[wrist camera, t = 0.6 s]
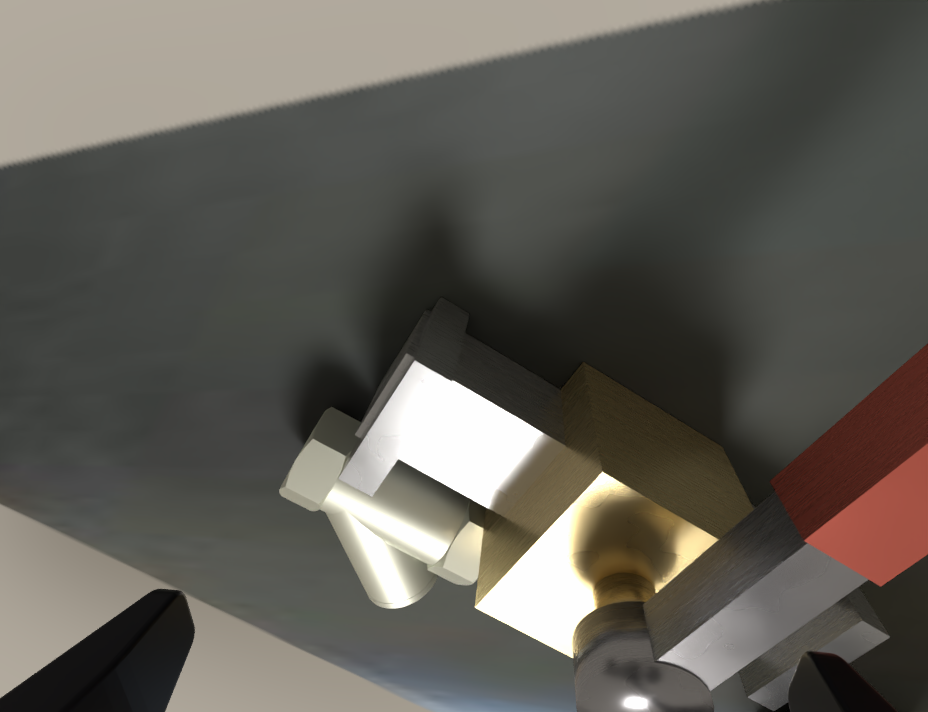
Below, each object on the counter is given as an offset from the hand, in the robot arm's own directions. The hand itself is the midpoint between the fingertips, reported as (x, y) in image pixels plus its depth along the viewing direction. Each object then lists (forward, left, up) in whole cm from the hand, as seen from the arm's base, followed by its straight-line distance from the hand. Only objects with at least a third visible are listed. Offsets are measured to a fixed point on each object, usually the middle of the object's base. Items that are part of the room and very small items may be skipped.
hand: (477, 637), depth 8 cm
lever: (-7, -1, -5) cm, 8 cm away
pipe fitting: (0, +10, -14) cm, 17 cm away
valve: (-7, +3, -13) cm, 15 cm away
